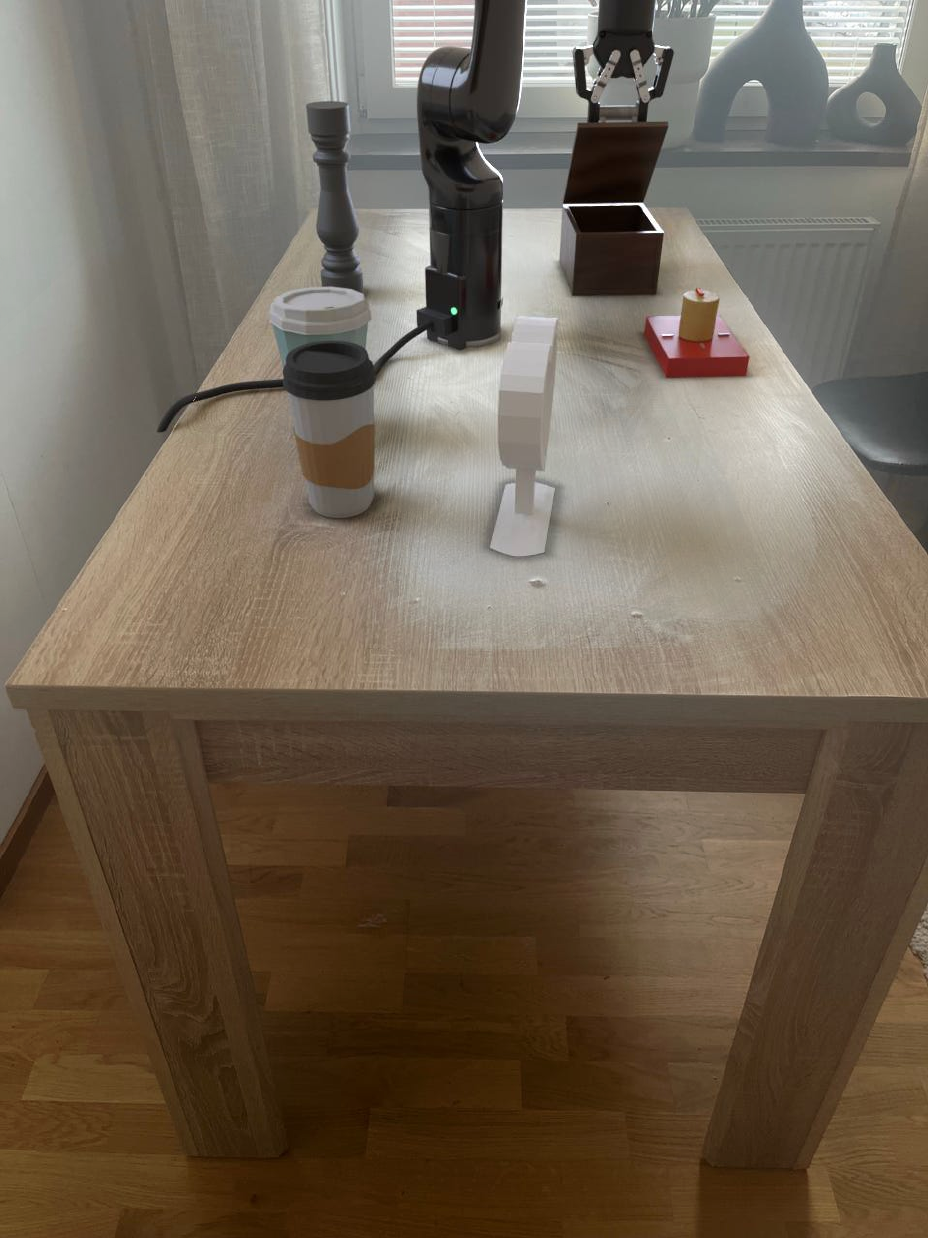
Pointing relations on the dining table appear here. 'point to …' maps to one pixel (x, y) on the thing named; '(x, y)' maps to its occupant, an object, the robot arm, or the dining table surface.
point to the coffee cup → (333, 424)
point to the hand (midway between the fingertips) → (616, 131)
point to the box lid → (613, 158)
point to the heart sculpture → (526, 435)
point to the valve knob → (698, 315)
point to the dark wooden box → (610, 249)
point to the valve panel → (695, 350)
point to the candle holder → (335, 195)
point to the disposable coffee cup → (319, 317)
